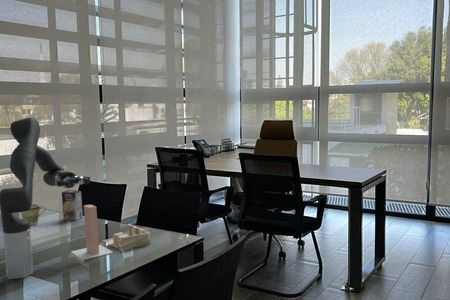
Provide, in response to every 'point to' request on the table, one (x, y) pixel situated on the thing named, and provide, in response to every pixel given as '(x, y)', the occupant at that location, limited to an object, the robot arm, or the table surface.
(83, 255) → the mat
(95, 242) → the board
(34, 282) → the table surface
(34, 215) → the ceramic cup
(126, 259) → the table surface
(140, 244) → the rack
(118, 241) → the offcut stack
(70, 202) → the coffee box
